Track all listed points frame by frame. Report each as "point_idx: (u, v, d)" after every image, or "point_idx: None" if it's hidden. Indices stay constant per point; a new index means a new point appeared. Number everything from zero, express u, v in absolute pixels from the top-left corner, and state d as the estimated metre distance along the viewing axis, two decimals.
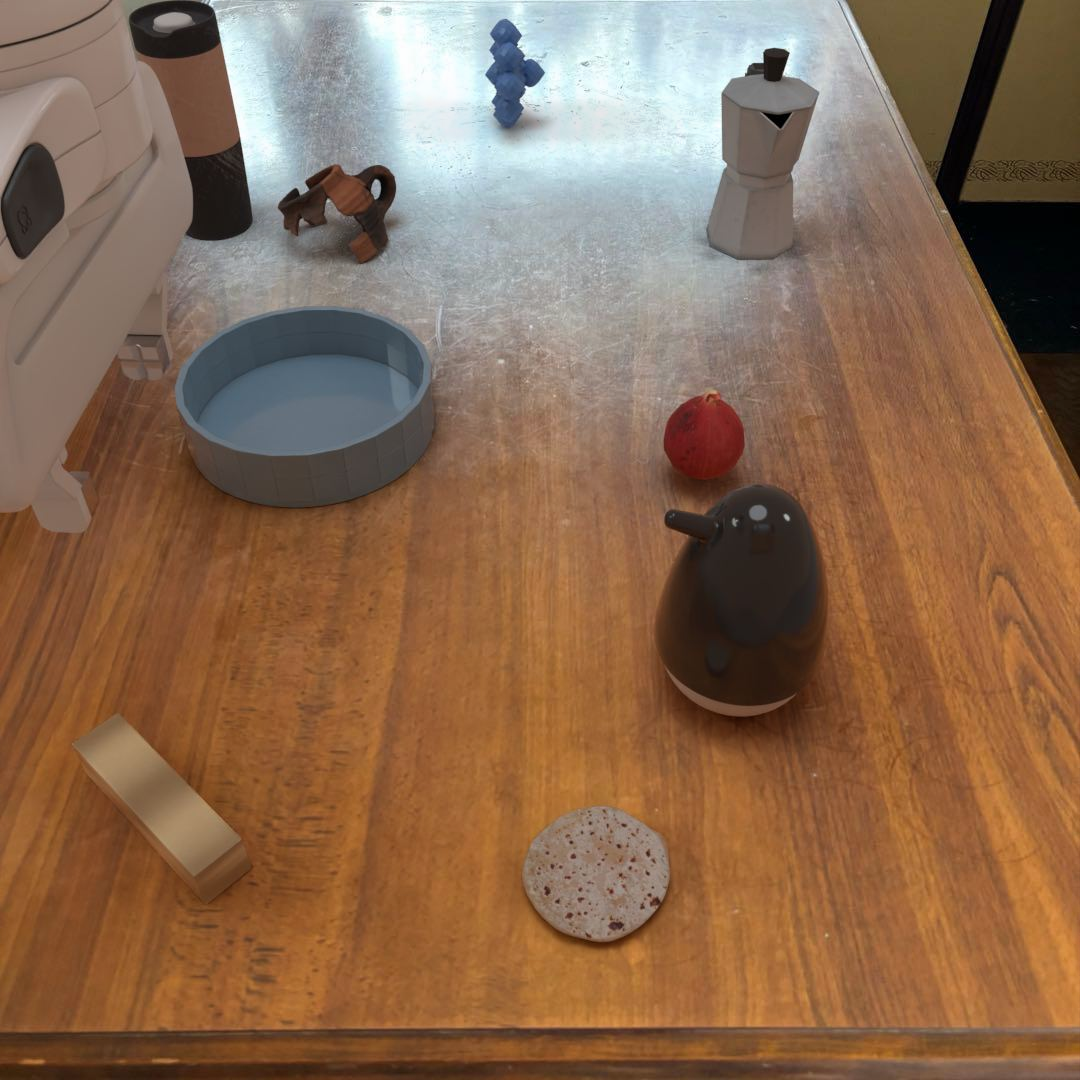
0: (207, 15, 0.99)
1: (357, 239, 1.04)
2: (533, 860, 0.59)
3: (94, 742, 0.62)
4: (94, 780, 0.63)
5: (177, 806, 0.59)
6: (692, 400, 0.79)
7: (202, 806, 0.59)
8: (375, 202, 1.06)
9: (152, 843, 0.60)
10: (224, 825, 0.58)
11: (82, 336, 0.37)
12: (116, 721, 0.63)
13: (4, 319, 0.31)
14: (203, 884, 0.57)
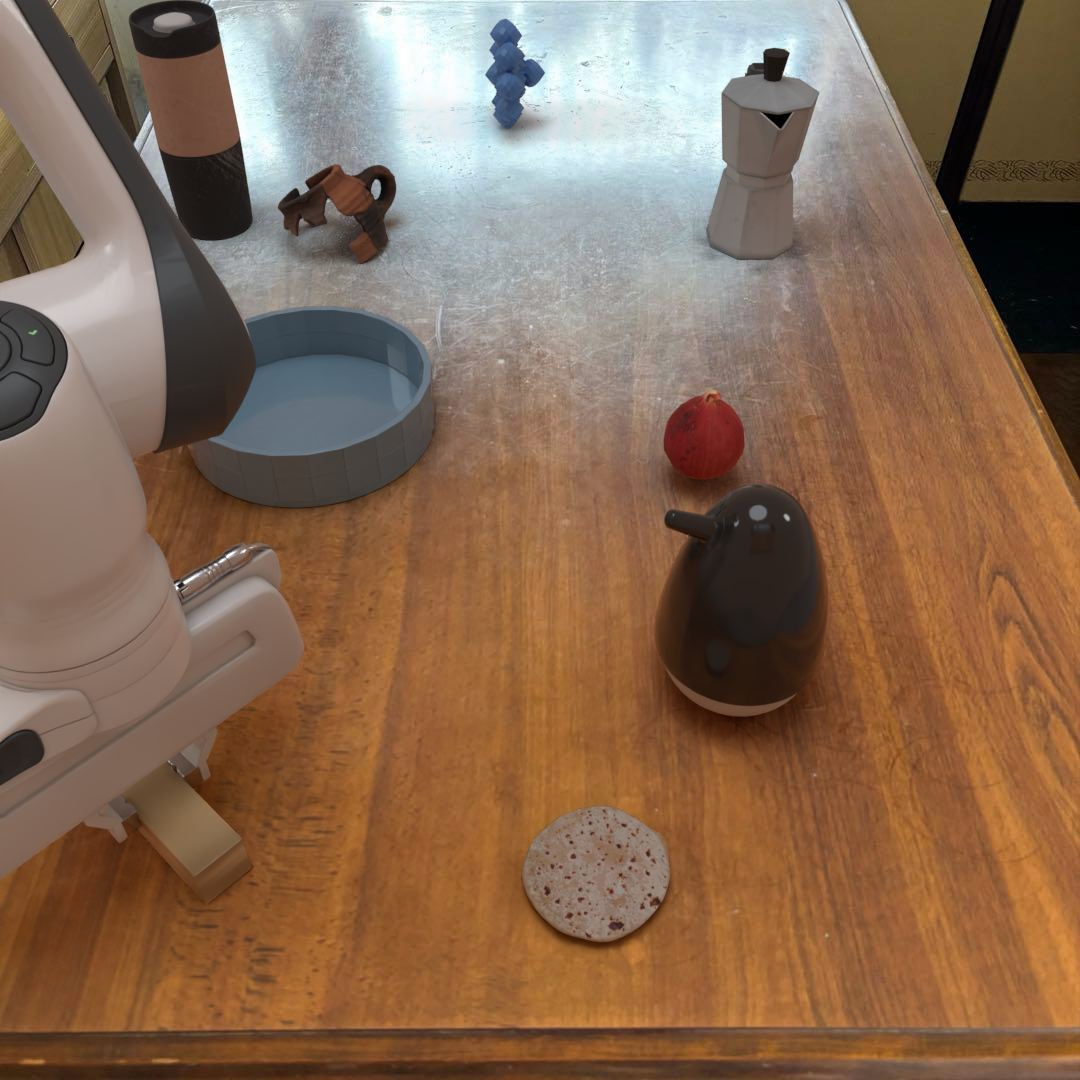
0: (207, 15, 0.99)
1: (357, 239, 1.04)
2: (533, 860, 0.59)
3: None
4: None
5: (177, 806, 0.59)
6: (692, 400, 0.79)
7: (202, 806, 0.59)
8: (375, 202, 1.06)
9: (152, 843, 0.60)
10: (224, 825, 0.58)
11: (90, 784, 0.53)
12: None
13: None
14: (203, 884, 0.57)
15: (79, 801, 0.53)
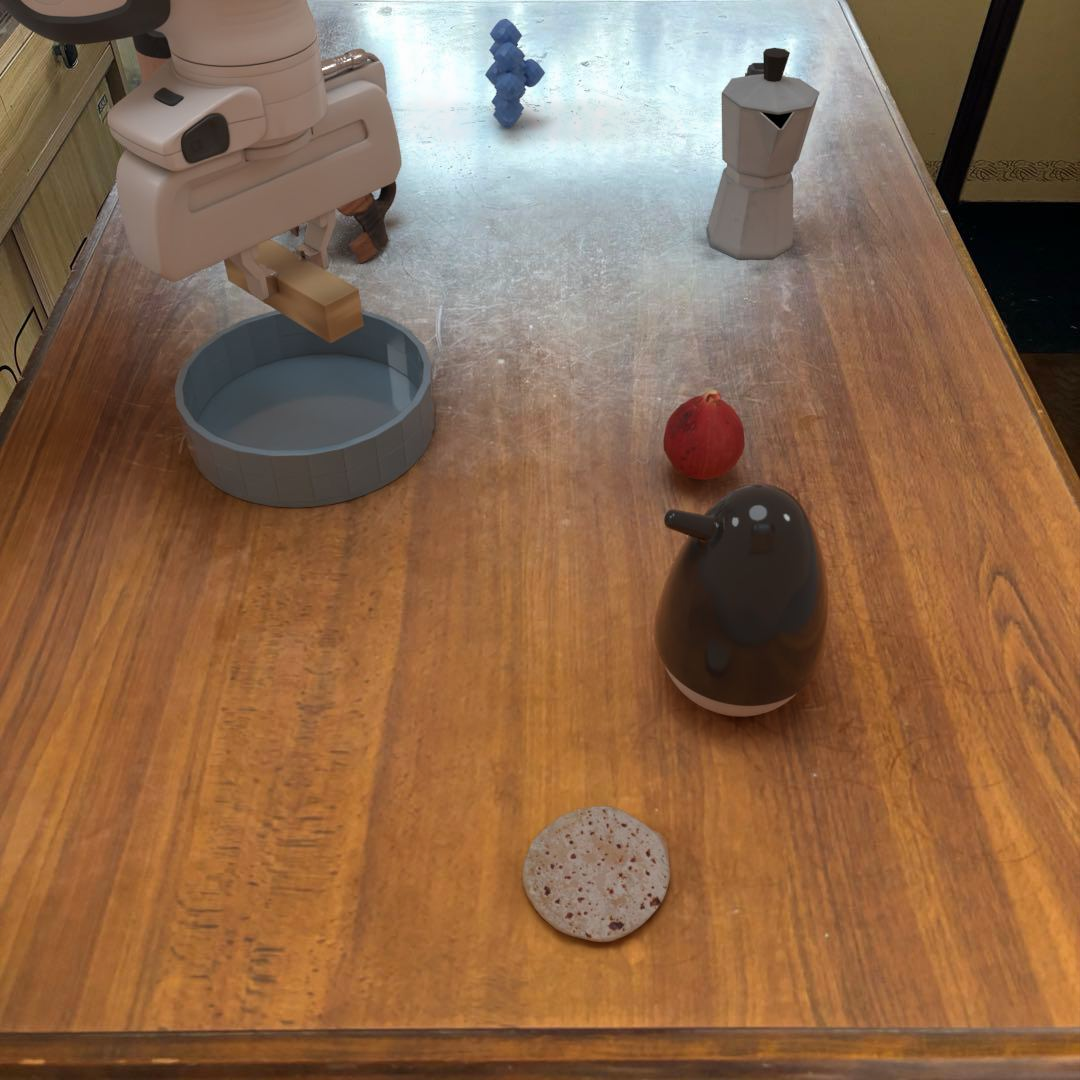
0: None
1: (357, 239, 1.04)
2: (533, 860, 0.59)
3: None
4: (236, 280, 0.81)
5: (307, 273, 0.77)
6: (692, 400, 0.79)
7: (326, 273, 0.77)
8: (375, 202, 1.06)
9: (286, 308, 0.78)
10: (344, 282, 0.76)
11: (250, 214, 0.71)
12: None
13: (175, 187, 0.65)
14: (330, 319, 0.75)
15: (242, 227, 0.71)
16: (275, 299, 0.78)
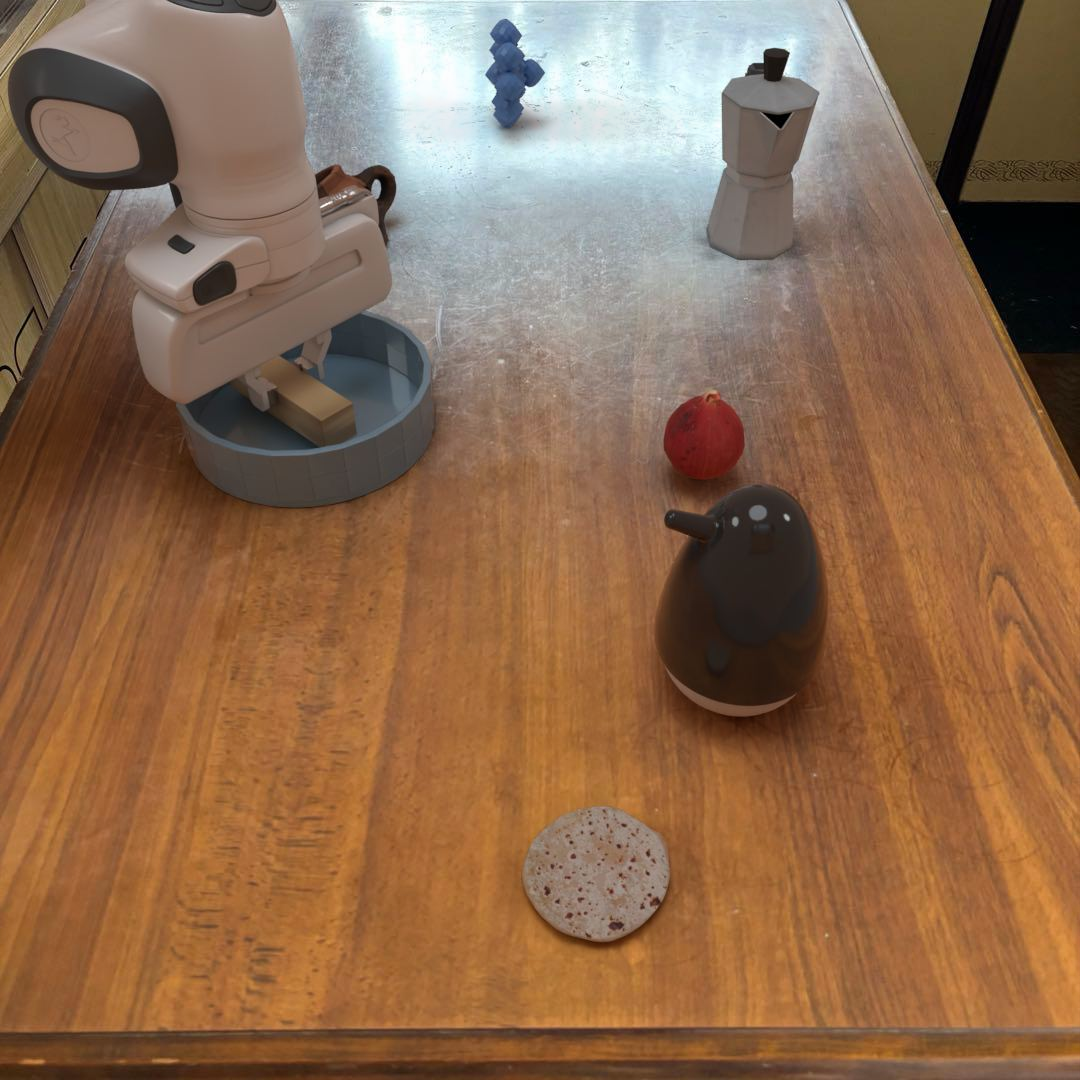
0: None
1: None
2: (533, 860, 0.59)
3: None
4: (238, 387, 0.87)
5: (305, 386, 0.83)
6: (692, 400, 0.79)
7: (322, 386, 0.83)
8: None
9: (285, 417, 0.84)
10: (339, 396, 0.82)
11: (254, 340, 0.78)
12: None
13: (187, 326, 0.72)
14: (326, 431, 0.81)
15: (246, 352, 0.78)
16: (275, 408, 0.85)
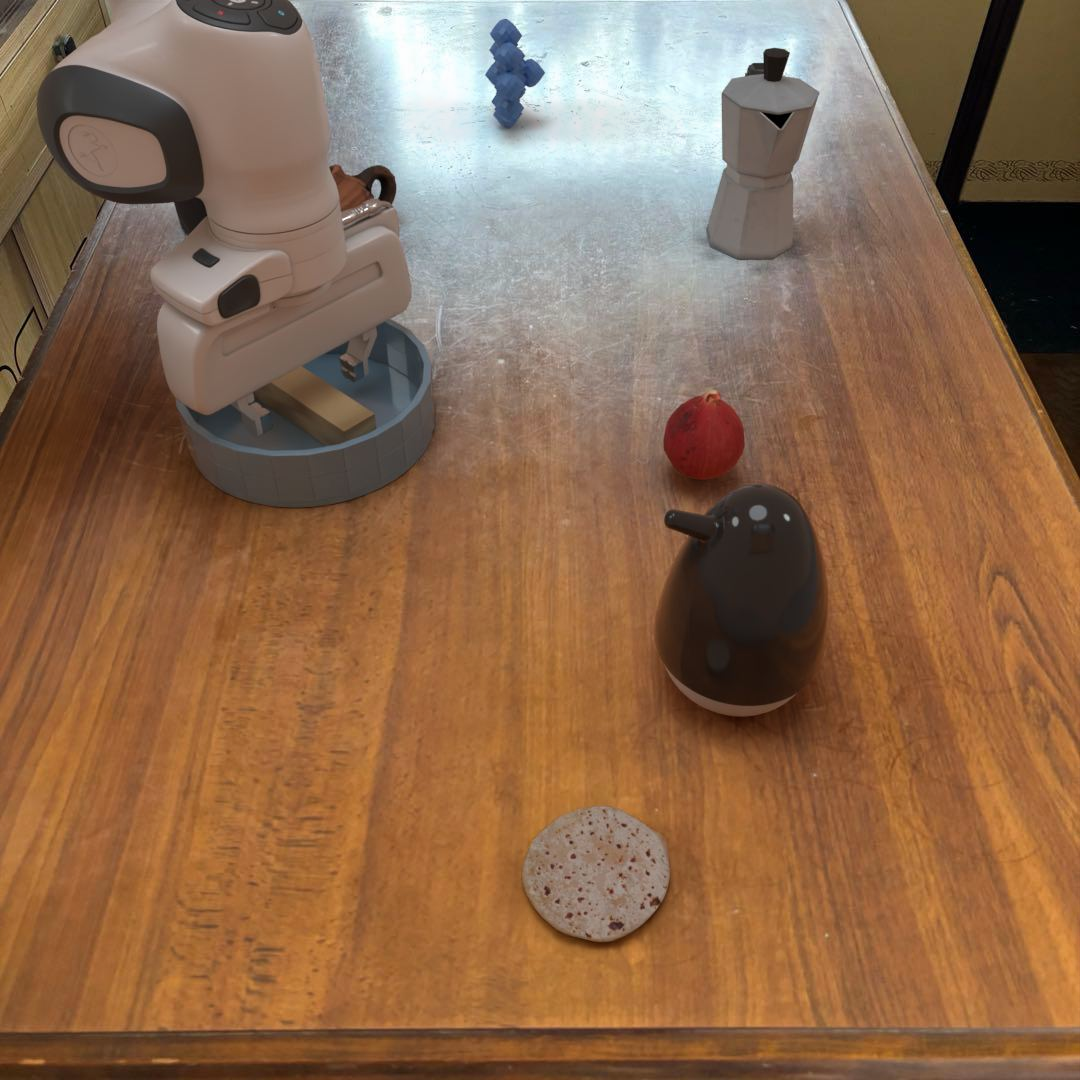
0: None
1: None
2: (533, 860, 0.59)
3: None
4: (261, 397, 0.88)
5: (327, 397, 0.84)
6: (692, 400, 0.79)
7: (344, 397, 0.84)
8: None
9: (307, 427, 0.85)
10: (361, 406, 0.83)
11: (276, 352, 0.78)
12: None
13: (211, 338, 0.73)
14: None
15: (269, 363, 0.78)
16: (297, 418, 0.86)
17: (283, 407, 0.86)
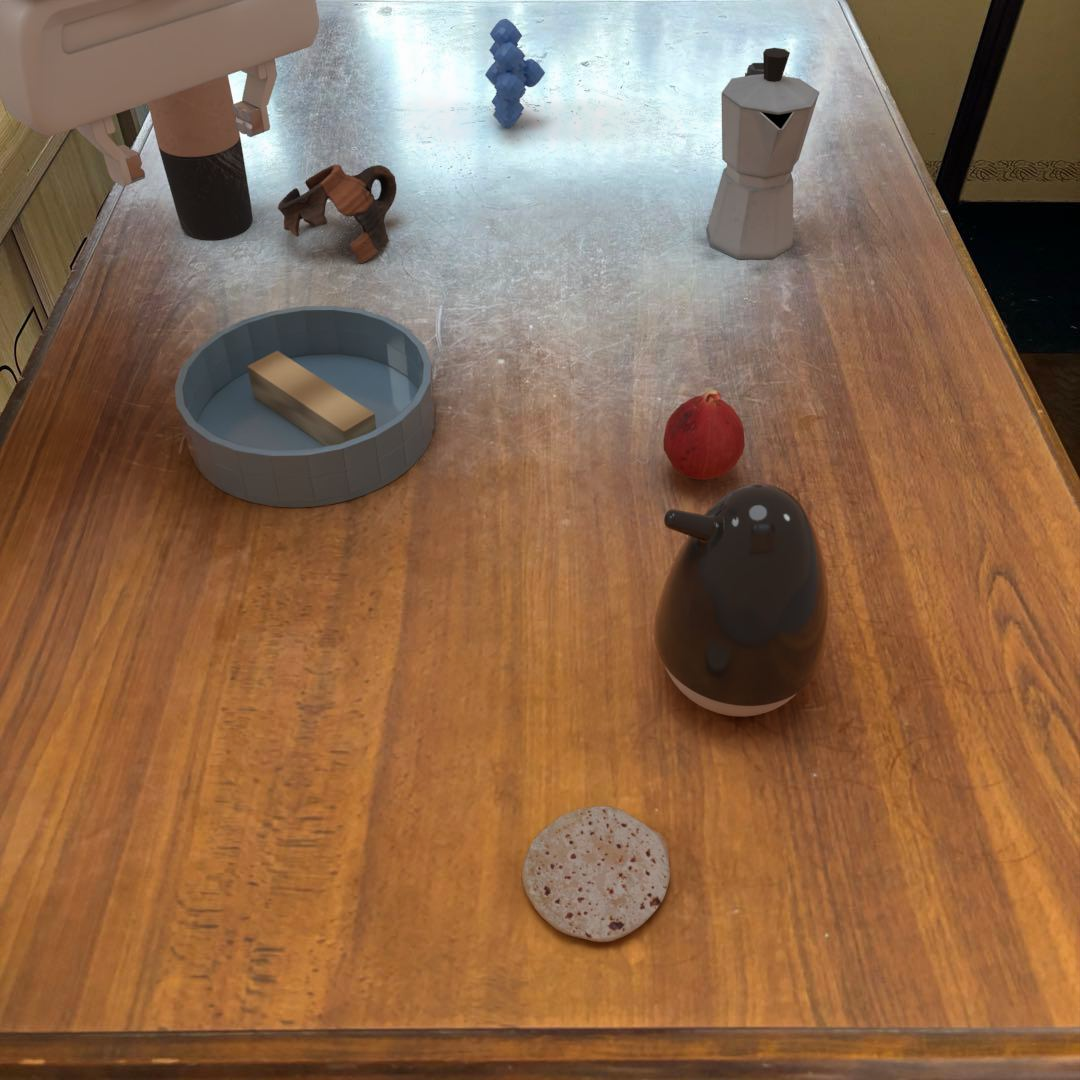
0: None
1: (357, 239, 1.04)
2: (533, 860, 0.59)
3: (263, 365, 0.87)
4: (261, 397, 0.88)
5: (327, 397, 0.84)
6: (692, 400, 0.79)
7: (344, 397, 0.84)
8: (375, 202, 1.06)
9: (307, 427, 0.85)
10: (361, 406, 0.83)
11: (139, 64, 0.63)
12: (277, 354, 0.88)
13: (43, 17, 0.57)
14: None
15: (130, 78, 0.63)
16: (297, 418, 0.86)
17: (283, 407, 0.86)
